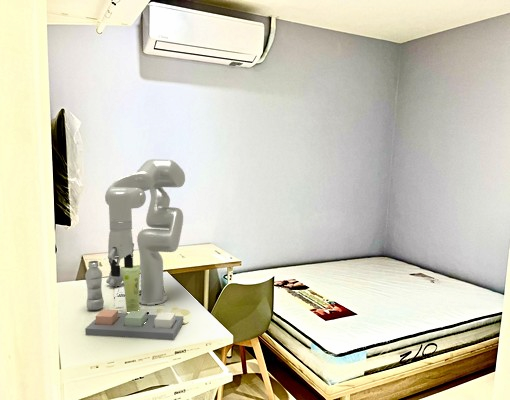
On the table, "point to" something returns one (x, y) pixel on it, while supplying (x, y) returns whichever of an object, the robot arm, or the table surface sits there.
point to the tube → (131, 287)
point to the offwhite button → (164, 320)
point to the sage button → (136, 318)
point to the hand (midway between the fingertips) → (122, 271)
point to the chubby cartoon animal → (115, 279)
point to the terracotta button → (107, 317)
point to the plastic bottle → (94, 286)
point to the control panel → (135, 329)
